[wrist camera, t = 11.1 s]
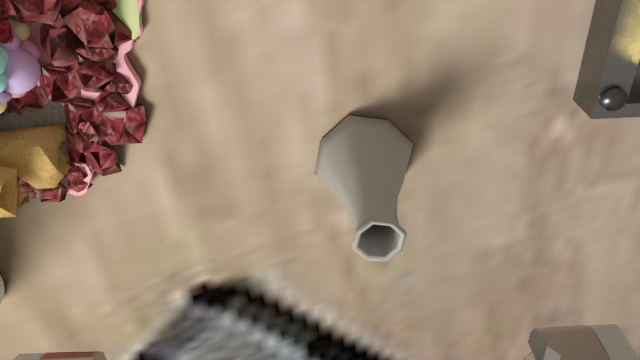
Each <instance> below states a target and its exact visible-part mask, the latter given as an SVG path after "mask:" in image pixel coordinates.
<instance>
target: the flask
mask: <svg viewBox="0 0 640 360" xmlns="http://www.w3.org/2000/svg"><path fill="white" fill-rule="evenodd" d="M412 148H413V143H412V142H411V141H410V140H408V139H407V138H406V137H405V136H404V135H403V134H402V133H401V132H400V131H399V130H398V129H397V128H396V127H395V126H394V125H393V124H392V123H391V122H390V121H389V120H384V119H375V118H366V117H358V116H348V117H346V118H345V119H344V120H343V121H342V122H341V123H340V124H339V125H337V126H336V127H335V128H334V129H333V130H332V131H331V132H330V133H328V134H327V135H326V136H325V137H324V138H323V139H322V140H321V141H320V146H319V152H318V158H317V164H316V170H315V174H316V176H317V177H318V178H319V179H320V180H321V181H322V183H323V184H324V185H325V186H326V187H327V188H328V189H329V190H330V191H331V192H332V194H333V195H334V196H335V197H336V199H337V200H338V201H339V202H340V204H341V205H342V206H343V207H344V209H345V210H346V211H347V213H348V215H349V217H350V219H351V221H352V224H353V226H354V229H355V235H354V240H353V244H352V249H353V250H354V251H356V252H357V253H358V254H359V255H361V256H362V257H363V258H365V259H366V260H373V261H384V262H387V261H388V260H389V259H391V258H392V257H393V256H395V255H396V254H397V253H399V252H400V251H402V248H403V245H404V241H405V238H406V231H405V230H404V229H403V228H402V227H401V226H400V225H399V223H398V218H397V200H398V195H399V192H400V189H401V187H402V184H403V181H404V177H405V174H406V170H407V166H408V162H409V159H410V155H411V151H412Z"/></svg>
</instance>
